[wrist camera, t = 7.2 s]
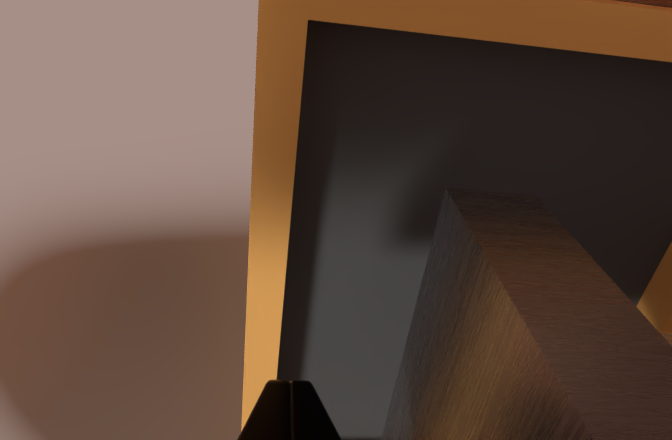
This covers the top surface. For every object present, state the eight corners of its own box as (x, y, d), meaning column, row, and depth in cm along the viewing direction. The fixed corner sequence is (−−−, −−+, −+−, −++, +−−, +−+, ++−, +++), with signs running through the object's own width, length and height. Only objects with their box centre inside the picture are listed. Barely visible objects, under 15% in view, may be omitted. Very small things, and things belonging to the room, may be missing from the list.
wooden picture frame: (569, 459, 17) (587, 493, 16) (242, 457, 16) (238, 495, 15) (815, 26, 10) (875, 38, 9) (264, -46, 9) (260, -43, 8)
